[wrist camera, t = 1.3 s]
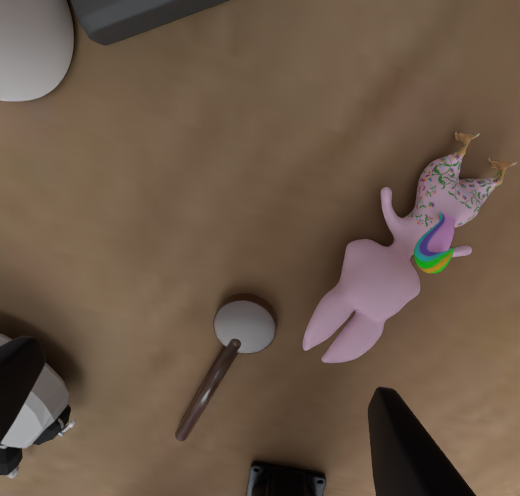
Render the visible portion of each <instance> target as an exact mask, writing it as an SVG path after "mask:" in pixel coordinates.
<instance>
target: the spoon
mask: <svg viewBox="0 0 520 496" xmlns="http://www.w3.org/2000/svg"><path fill="white" fill-rule="evenodd" d="M213 324H214V331H215V334H216V336H217V338H218V339H219V340H220V342H221V343H222V344H223V345H225V346H224V347H223V349H222V351H221V353H220V354H219V356H218V358H217V360H216V361H215V363H214V365H213V367H212V368H211V370H210V372H209V374H208V375H207V377H206V379H205V381H204V383H203V384H202V386H201V388H200V390H199V391H198V393H197V395H196V397H195V398H194V400H193V402H192V404H191V405H190V407H189V409H188V411H187V412H186V414H185V416H184V418H183V419H182V421H181V423H180V425H179V427H178V428H177V430H176V433H175V436H176V439H177V440H178V441H184V440H186V439H187V437H188V435H189V434H190V432H191V430H192V429H193V427H194V425H195V424H196V422H197V420H198V419H199V417H200V415H201V414H202V412H203V410H204V409H205V407H206V405H207V404H208V402H209V400H210V399H211V397H212V395H213V394H214V392H215V390H216V389H217V387H218V385H219V383H220V382H221V380H222V378H223V377H224V375H225V373H226V372H227V370H228V368H229V367H230V365H231V363H232V362H233V360H234V358H235V357H236V355H237V353H238V352H239V353H246V354H250V353H256V352H259V351H262V350H264V349H265V348H267V347H268V346H269V345H270V344H271V343H272V341H273V339H274V337H275V335H276V327H277V319H276V315H275V313H274V311H273V309H272V308H271V306H270V305H269V304H268V303H267V302H265V301H264V300H263V299H261V298H259V297H257V296H254V295H249V294H239V295H235V296H232V297H229V298H228V299H226V300H225V301H224V302H222V304H221V305H220V306H219V308H218V310H217V312H216V315H215V317H214V323H213Z"/></svg>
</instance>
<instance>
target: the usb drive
mask: <svg viewBox="0 0 520 496" xmlns="http://www.w3.org/2000/svg"><path fill="white" fill-rule="evenodd" d="M225 1H228V0H71V3H72V5H73V8H74V10H75V13H76V16H77V18H78V21H79V23H80V24H81V26H82V27H83V29H84V31H85V32H86V34H87V35H88V37H89V38H90V39H91V40H93V41H95V42H97V43H99V44H102V45H108V44H111V43H114V42H117V41H120V40H122V39H125V38H128V37H131V36H133V35H136V34H139V33H141V32H144V31H147V30H149V29H152V28H155V27H158V26H160V25H163V24H166V23H168V22H171V21H174V20H177V19H179V18H182V17H185V16H187V15H190V14H193V13H195V12H198V11H201V10H204V9H206V8H209V7H212V6H214V5H217V4H220V3H222V2H225Z"/></svg>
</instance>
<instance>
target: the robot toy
mask: <svg viewBox="0 0 520 496" xmlns="http://www.w3.org/2000/svg"><path fill="white" fill-rule="evenodd" d="M11 340H12V339H10V338H9V337H7V336H5V335H3V334H1V333H0V346H2V345H3V344H5V343H7V342H9V341H11ZM69 399H70V394H69V391H68V389H67V387H66V384H65V382H64V381H63V380H62V378H61V377H60V376H59V375H58V374H57V373H56V372H55V371H54V370H53V369H52V368H51V367H50V366H49V365H48V364H46V363H45V366H44V368H43V370H42V372H41V374H40V375H39V377H38V379H37V381H36V383H35V385H34V387H33V388H32V390H31V392H30V394H29V396H28V398H27V400H26V401H25V403H24V405H23V407H22V409H21V411H20V413H19V414H18V416H17V418H16V420H15V421H14V423H13V425H12V426H11V428H10V429H9V431H8V433H7V434H6V436H5V437H4V439H3V440H2V442H1V443H0V475H7V476H8V477H10V478H13V477H15V476H16V475H17V473H18V470H19V466H18V465H19V463H20V461H21V459H22V458H23V457H22V448H27V447H28V446H30V445H32V444H37V445H40V444H42V443H44V442H46V441H49V440H52V439H54V438H55V437H56V436H57V434H58V435H60V436H63V435H64V433H65V432H66V431H67V430H68V429H69V428H70V427H72V426H73V425H74V424H75V423H76V420H74V419H73V420H72V421H71V422H70V423H69V424H68V425H67V426H65V425H66V424H67V422H68V421H69V415H70V411H71V407H70V406H69V405H68V402H69Z"/></svg>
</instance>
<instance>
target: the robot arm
mask: <svg viewBox="0 0 520 496" xmlns="http://www.w3.org/2000/svg"><path fill="white" fill-rule="evenodd" d="M45 362H46V357H45V354H44V351H43V348H42V345H41V343H40V340H39V339H38V338H37V337H32V336H19V337H17V338H15V339H13V340H11V341H9V342H7V343H5V344H3V345H2V346H0V443H1V442H2V440H3V439H4V437H5V436H6V434H7V433H8V431H9V429H10V428H11V426H12V425H13V423H14V421H15V420H16V418H17V416H18V414H19V413H20V411H21V409H22V407H23V405H24V403H25V401H26V400H27V398H28V396H29V394H30V392H31V390H32V388H33V387H34V385H35V383H36V381H37V379H38V377H39V375H40V374H41V372H42V370H43V368H44V366H45ZM368 421H369V433H370V445H371V457H372V469H373V478H374V485H375V491H376V496H476V495H475V494H474V492H473V491H472V490H471V488H470V487H469V486H468V484H467V483H466V482H465V480H464V479H463V478H462V477H461V475H460V474H459V473H458V471H457V470H456V469H455V467H454V466H453V465H452V463H451V462H450V461H449V460H448V458H447V457H446V456H445V454H444V453H443V452H442V450H441V449H440V448H439V446H438V445H437V444H436V443H435V441H434V440H433V439H432V437H431V436H430V435H429V433H428V432H427V431H426V429H425V428H424V427H423V426H422V424H421V423H420V422H419V420H418V419H417V418H416V416H415V415H414V414H413V412H412V411H411V410H410V409H409V407H408V406H407V405H406V403H405V402H404V401H403V399H402V398H401V397H400V395H399V394H398V393H397V392H396V391H395V390H394V389H392V388H386V387H378V388H377V389H376V390H375V393H374V395H373V397H372V399H371V401H370V404H369V407H368ZM325 485H326V476H325V475H324V474H322V473H317V472H311V471H306V470H300V469H295V468H290V467H284V466H279V465H273V464H268V463H263V462H256V461H255V462H253V463H252V464H251V469H250V476H249V482H248V489H247V496H323V492H324V489H325Z"/></svg>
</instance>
